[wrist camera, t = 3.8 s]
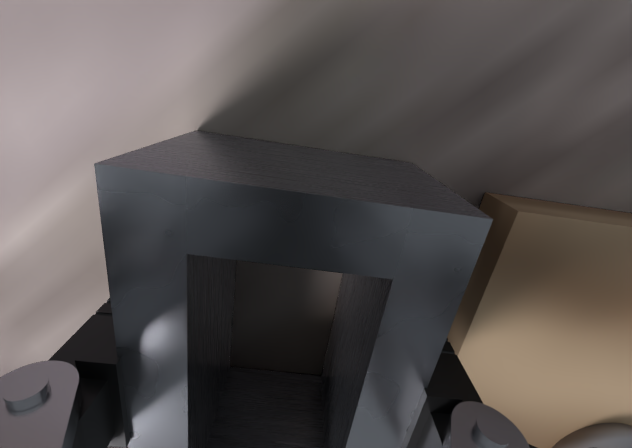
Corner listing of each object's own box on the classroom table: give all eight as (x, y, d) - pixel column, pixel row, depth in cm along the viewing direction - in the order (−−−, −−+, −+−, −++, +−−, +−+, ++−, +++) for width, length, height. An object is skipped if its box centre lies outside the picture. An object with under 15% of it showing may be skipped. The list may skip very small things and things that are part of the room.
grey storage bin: (195, 130, 8) (93, 163, 4) (412, 163, 8) (493, 219, 5) (194, 388, 11) (138, 531, 8) (348, 402, 12) (364, 545, 8)
